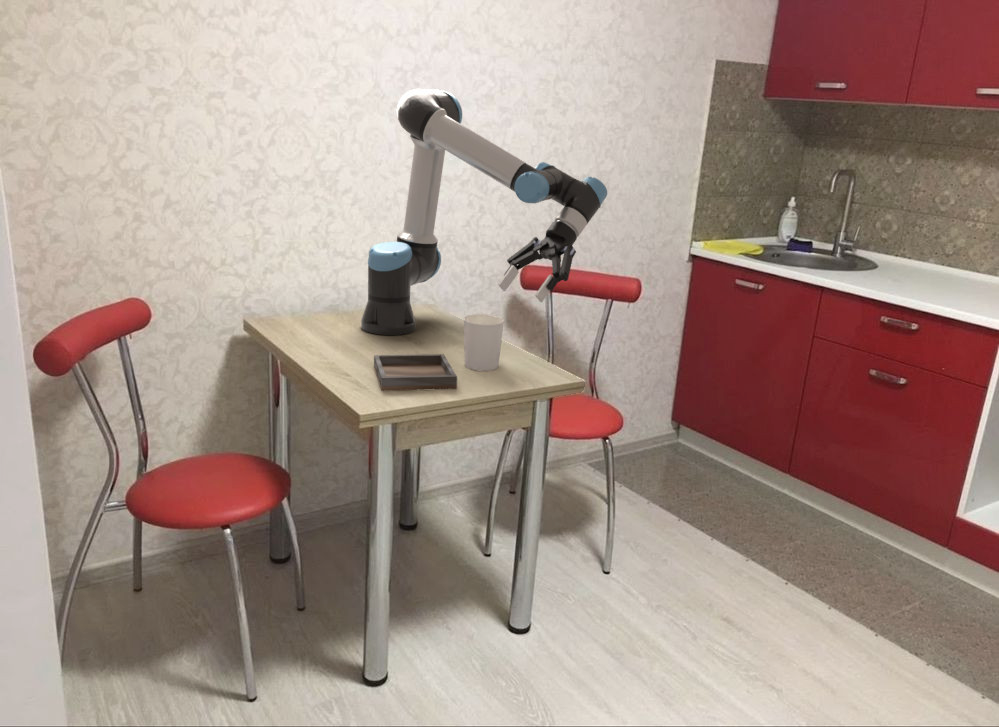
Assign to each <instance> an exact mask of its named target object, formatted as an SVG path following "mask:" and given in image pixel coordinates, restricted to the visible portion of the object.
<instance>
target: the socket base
mask: <svg viewBox="0 0 999 727" xmlns="http://www.w3.org/2000/svg"><path fill="white" fill-rule="evenodd" d="M373 368H374V370H375V375H376V377H377V381H378V384H379V387H380V390H381V391H382V390H383V391H384V390H385V391H386V390H392V391H418V390H417V389H435V390H457V387H458V386H457V384H458V376H457V374H456V373H455V371H454V369H453V367H452V366H451V364H450V361H449V360H448V359H447V357H446V356H445V354H444V353H441V354H440V353H439V354H438V353H435V354H433V353H432V354H374V355H373ZM383 391H382V392H383ZM385 391H384V392H385Z"/></svg>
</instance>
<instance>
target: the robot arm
mask: <svg viewBox="0 0 999 727" xmlns="http://www.w3.org/2000/svg"><path fill="white" fill-rule="evenodd" d="M396 116H397V120H398V122H399V124H400V126H401V127H402V129H403V130H405V131H406V132H407V133H408V134H410V135H409V138H410V140H411V141H412V142H413V145H414V147H413V155H412V161H411V171H410V176H409V177H410V178H409V184H408V194H407V200H406V201H407V202H406V207H405V208H406V209H405V217H404V223H403V229H402V230H400V232H398V233H397V236H396V241H387V242H381V243H380V242H379V243H377V244H375V245H372V247H371V248H370V249H369V252H368V259H367V266H368V269H367V275H368V276H367V278H368V279H367V302H366V305H365V309H364V312H363V313H362V317H361V320H360V322H361V324H360V328H361V329H362V331H364V332H367V333H370V334H374V335H380V336H381V335H383V336H399V335H400V336H401V335H405V334H406V335H407V334H410V333H412V332H414V331H416V327H417V326H416V325H417V324H416V322H417V321H416V318H415V315H414V314H415V313H414V311H413V308H412V304H411V287H412V286H414V285H417V284H421V283H425V282H427V281H428V280H430V279H432V278H433V277H434V276H436V274H437V273H438V272H439V270H440V269H441V264H442V255H441V252H440V251H439V248H438V242H439V240H438V238H437V237H436V236H435V234H434V233H435V225H436V219H437V212H438V203H439V197H440V190H441V182H442V176H443V175H442V174H443V168H444V163H445V162H444V161H445V154H446V152H448V153H449V154H451V155H453V156H455V157H456V158H458V159H459V160H461V161H463V162H465V163H466V164H468V165H470V166H471V167H473V168H475V169H476V170H478V171H480V172H481V173H483V174H484V175H486V176H488V177H489V178H491V179H493V181H494V180H495V181H496V182H498V183H500V184H501V185H503V186H504V187H506V188H508V189H510V190H511V191H512V192H514V193H515V196H516V197H517V198H518V199H519V200H520V201H521V202H522V203H525V204H537V203H538V204H539V203H541V202H543V201H549V200H553V201H555V202H556V203H559V204H560V205H562V206H563V208H562V209H561V210H560V212H559V213H558V214H557V215H556V217H555V219H554V221H553V222H552V223H551V224H550V225H549V227H548V228H547V230H546V231H545V237H544V238H543V239H542V240H540V239H539V238H538V237H537V236H535V237H533V238H532V239H531V240H530V241H529V243H527V244H526V245H524V246H523V247H522V248H520V249H519V250H518V251H516V253H514V254H512V255H511V256H510V257H509V258H507V263H508V264H509V267H508V268H507V269H506V271H505V272H504V274H503V277H502V278H501V280H500V281H499V283H498V284H497V286H498V287H499V288H500V289H501V290H502V292H506V291H507V289H508V288H509V287H510V285H511V284H512V283H513V281H514V280H515V278H516V277H517V276H518V275H519V274H520V271H519V270H520V269H522V268H525V267H526V266H528V265H530V264H531V263H534V262H536V261H537V260H542V259H544V260H549V261H551V265H552V266H551V268H552V272H551V274H549V275H548V276H547V277H546V278H545V280H544V282H542V284H541V285H540V287H539V289H538V290H537V291H536V293H535V294H534V296H535V297H536V299H537V300H538V302H540V303H543V302H544V301H545V299H546V297H548V295H549V293H550V292H552V291H553V290H554V289H555V288H556V287H557V285H558V284H559V282H560V283H561V281H564V282H567V281H568V280H569V277H570V272H571V267H572V264H573V259H574V257H575V254H576V253H577V251H576V249H575V248H574V246H573V245H574V244H575V243H576V241H577V238H578V237H579V236H581V234H582V232H583V231H584V229H585V228H586V227H587V225H588V224H589V222H590V221H591V219H592V218H593V217H594V216H595V214H596V213H597V212H598V210H599V209H601V206H602V204H603V203H604V201H605V199H606V198H607V196H608V188H607V187H606V184H604V183H603V181H601V180H600V179H598V178H597V177H592V176H586V177H584V179H582V180H579V179H577V178H574V177H573V176H571V175H569V174H567V173H566V172H565V171H563V170H560V169H559V168H558V167H556V166H555V165H551V164H549V163H548V162H545V161H542V162H539V163H538V164H537V165H536V166H535V167H533V166H531V165H530V164H528V163H526V162H525V161H524V160H522V159H520V158H518V157H517V156H515V155H513V154H512V153H510V152H508V151H507V150H505V149H504V148H502V147H500V146H498V145H497V144H495V143H493V142H491V141H490V140H488V139H487V138H485V137H484V136H481V135H480V134H478V133H476V132H475V131H473V130H471V129H470V128H468V127H466V126H465V125H463V124H462V120H463V109H462V106H461V103H460V102H459V100H458V99H457V98H456V97H455V95H454V94H452V93H451V92H448V91H446V90H441V89H436V88H435V89H430V88H429V89H423V88H415V89H412V90H409V91H407V92H406V93H404V94H403V95H402V97H401V98H400V100H398V104H397V108H396Z"/></svg>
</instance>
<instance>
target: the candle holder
mask: <svg viewBox="0 0 999 727" xmlns="http://www.w3.org/2000/svg"><path fill="white" fill-rule="evenodd" d="M463 323H464V325H463V327H464V330H463V331H464V333H463V334H464V337H463V338H464V341H463V342H464V366H465V367H466V368H467V369H469V370H473V371H480V372H489V371H490V370H491V371H494V370H496V369H497V368H499V362H500V355H501V347H502V338H503V332H504V331H503V330H504V323H505V320H504V318H503V317H500V316H498V315H493V314H484V313H483V314H480V313H478V314H477V313H476V314H469V315H466V316H465V317H464V318H463ZM491 371H490V372H491Z"/></svg>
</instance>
